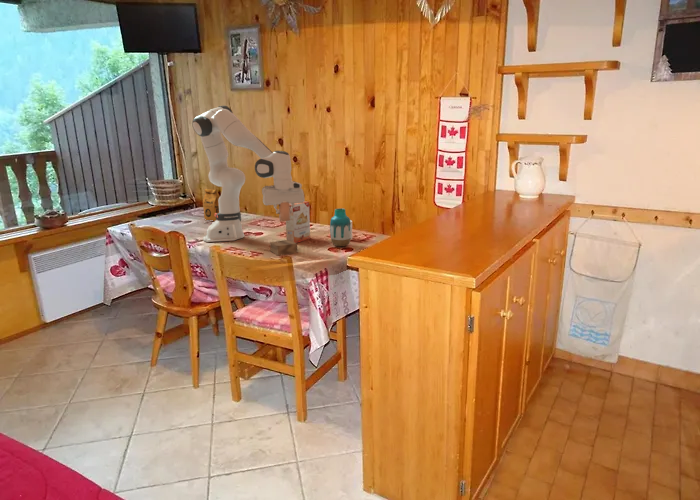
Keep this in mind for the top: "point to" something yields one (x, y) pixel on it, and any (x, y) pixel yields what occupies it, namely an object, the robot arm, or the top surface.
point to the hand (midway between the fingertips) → (284, 213)
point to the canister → (284, 211)
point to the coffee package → (210, 204)
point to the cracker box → (298, 223)
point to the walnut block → (283, 247)
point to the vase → (340, 228)
